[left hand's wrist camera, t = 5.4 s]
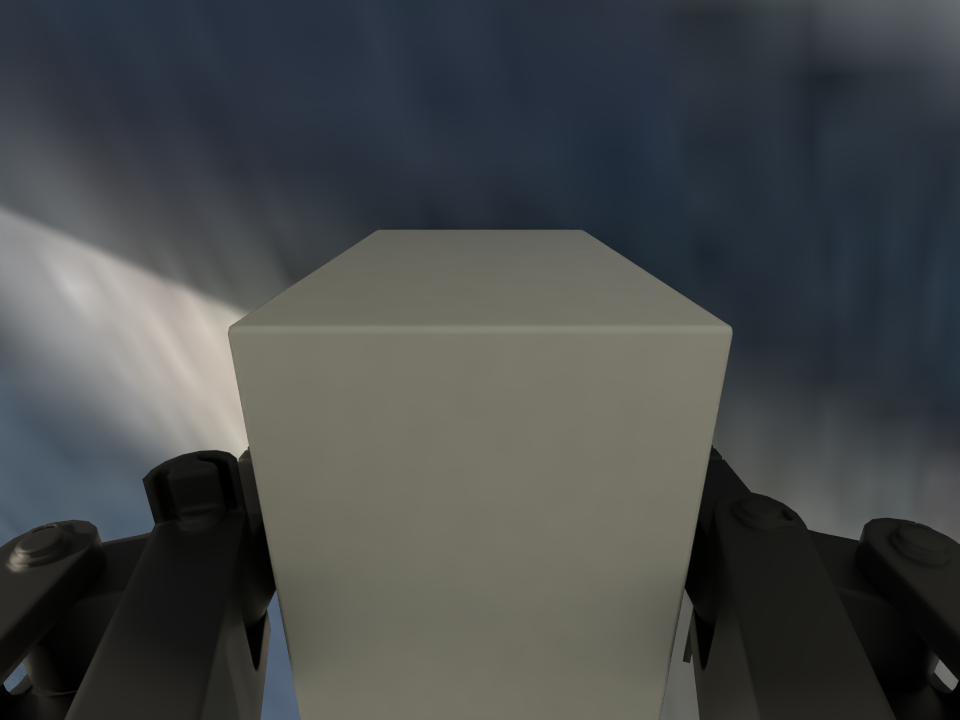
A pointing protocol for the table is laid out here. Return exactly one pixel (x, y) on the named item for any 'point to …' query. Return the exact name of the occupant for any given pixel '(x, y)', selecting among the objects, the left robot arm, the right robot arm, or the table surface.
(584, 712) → the beige long bar
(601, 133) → the table surface
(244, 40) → the table surface
